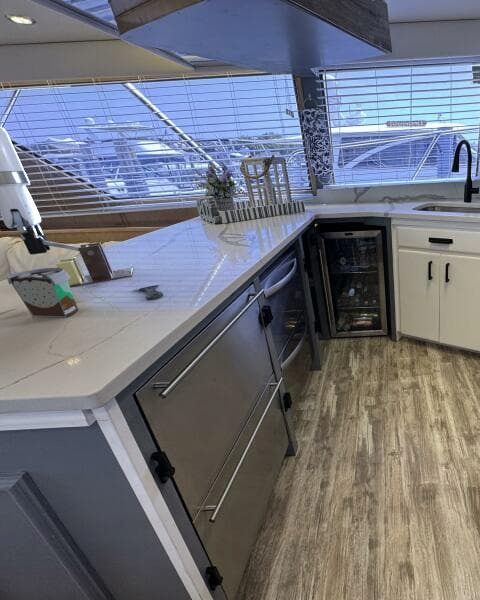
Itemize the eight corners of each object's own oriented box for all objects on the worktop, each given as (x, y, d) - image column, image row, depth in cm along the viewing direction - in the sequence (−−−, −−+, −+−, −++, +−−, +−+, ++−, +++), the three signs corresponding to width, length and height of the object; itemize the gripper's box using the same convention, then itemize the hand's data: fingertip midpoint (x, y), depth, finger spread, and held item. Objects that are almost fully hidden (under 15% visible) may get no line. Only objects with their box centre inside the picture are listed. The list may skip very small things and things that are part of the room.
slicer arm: (24, 246, 84) (26, 234, 83) (27, 244, 86) (29, 232, 86) (96, 258, 93) (98, 248, 92) (98, 256, 95) (100, 246, 95)
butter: (66, 285, 89) (55, 264, 86) (71, 278, 95) (61, 258, 92) (80, 283, 91) (70, 262, 88) (84, 276, 97) (75, 256, 94)
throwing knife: (145, 301, 79) (144, 298, 79) (134, 283, 93) (133, 281, 92) (166, 296, 82) (165, 293, 82) (152, 279, 95) (151, 277, 95)
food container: (99, 306, 78) (81, 266, 74) (72, 317, 72) (51, 275, 68) (56, 305, 79) (37, 266, 75) (27, 316, 74) (4, 275, 70)
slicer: (70, 290, 89) (51, 252, 85) (76, 281, 96) (59, 246, 92) (133, 279, 96) (119, 243, 92) (134, 271, 104) (121, 238, 100)
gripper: (-5, 180, 84) (29, 249, 91) (-31, 181, 72) (11, 260, 79) (36, 178, 88) (65, 244, 95) (18, 179, 76) (53, 255, 83)
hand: (40, 251), depth 87 cm, fingers closed on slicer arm, 3 cm apart
